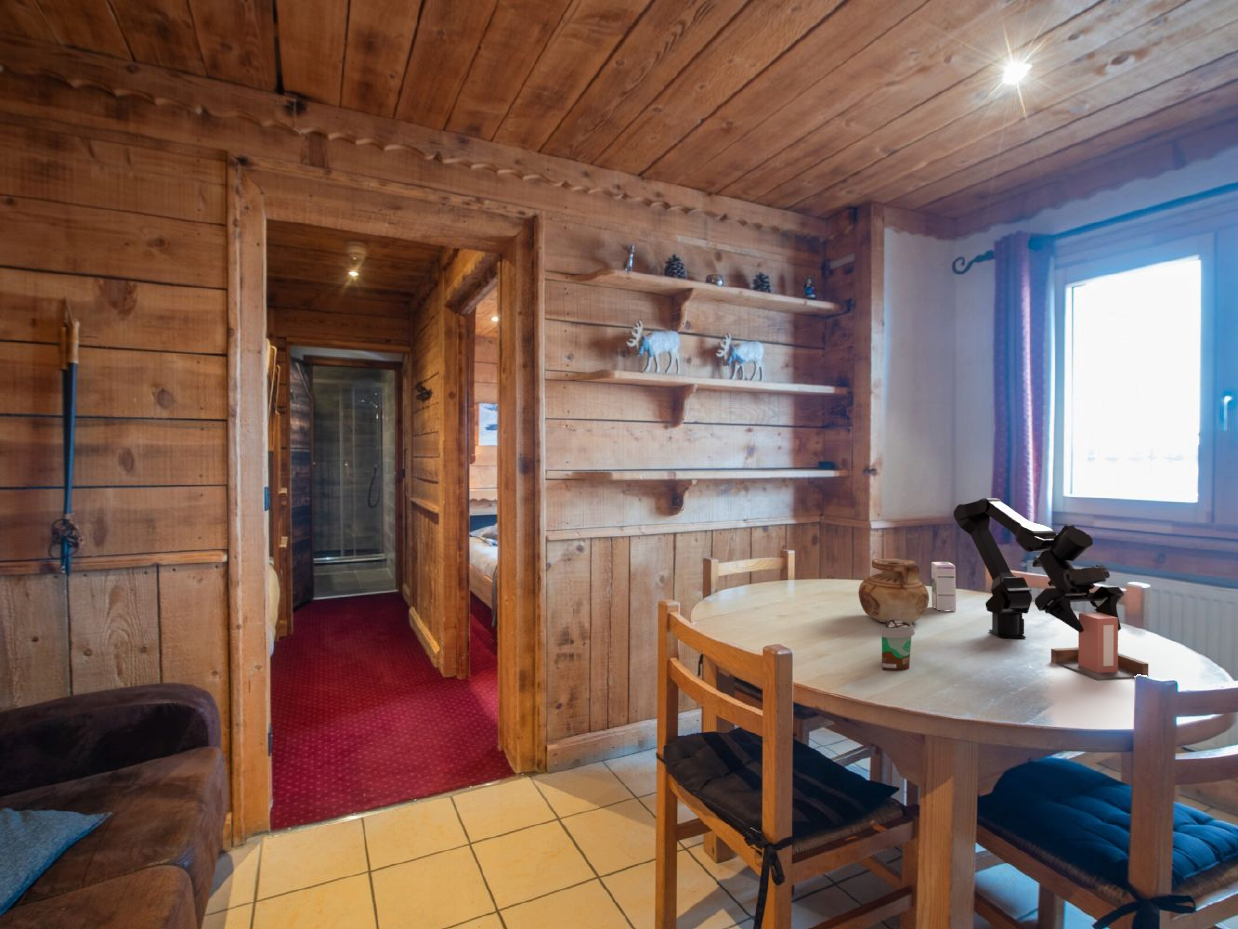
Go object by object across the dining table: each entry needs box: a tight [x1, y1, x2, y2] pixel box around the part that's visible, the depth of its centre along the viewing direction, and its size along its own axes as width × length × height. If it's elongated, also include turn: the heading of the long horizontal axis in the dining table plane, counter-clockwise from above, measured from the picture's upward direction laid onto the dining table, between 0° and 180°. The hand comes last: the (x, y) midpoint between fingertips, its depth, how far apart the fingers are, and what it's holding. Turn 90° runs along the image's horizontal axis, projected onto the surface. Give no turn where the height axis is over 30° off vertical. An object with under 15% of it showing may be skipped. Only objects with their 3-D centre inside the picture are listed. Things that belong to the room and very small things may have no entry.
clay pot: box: [858, 557, 930, 624], centre depth 186 cm, size 19×19×20 cm
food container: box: [880, 616, 916, 672], centre depth 146 cm, size 12×6×10 cm, turn 148°
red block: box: [1078, 611, 1119, 673], centre depth 142 cm, size 5×5×12 cm
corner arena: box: [1050, 647, 1149, 681], centre depth 143 cm, size 12×12×3 cm
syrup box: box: [931, 561, 957, 612], centre depth 198 cm, size 6×6×14 cm
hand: (1100, 630), depth 142 cm, fingers open, 9 cm apart
